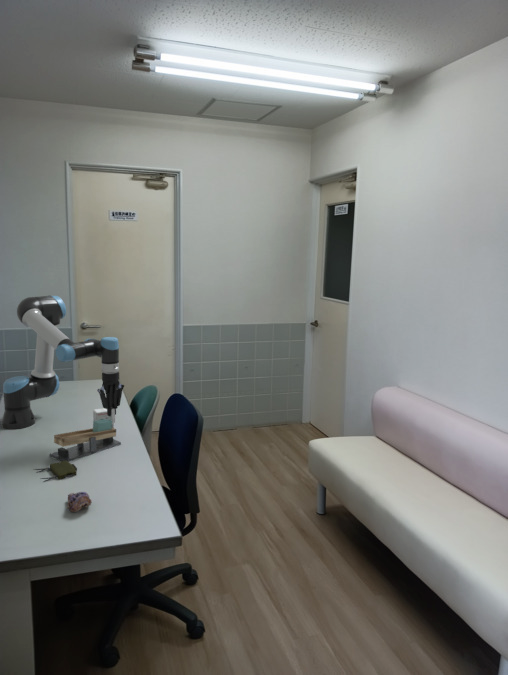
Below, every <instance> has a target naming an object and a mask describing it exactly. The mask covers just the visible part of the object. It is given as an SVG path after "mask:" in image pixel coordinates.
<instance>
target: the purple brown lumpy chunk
mask: <svg viewBox="0 0 508 675" xmlns="http://www.w3.org/2000/svg"><path fill="white" fill-rule="evenodd" d="M92 503H93V502H92V499H90V495H89V493H87V492H86V491H79V492H75V493H74V492H71V493H68V494H67V506H66V507H67V509H68V510H69V511H70V512H75V513H77V512H79V511H80V510H81V509H82V508H85V507H87V508H88V507H89V506H92Z"/></svg>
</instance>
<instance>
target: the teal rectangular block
mask: <svg viewBox="0 0 508 675" xmlns="http://www.w3.org/2000/svg"><path fill="white" fill-rule="evenodd" d="M92 423H93V424H92V428H93V432H94V433H95V432H101V431H106V430H112V421H111V420H108V419H103V420H97V421H94V420H93V421H92Z"/></svg>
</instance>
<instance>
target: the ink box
mask: <svg viewBox="0 0 508 675" xmlns="http://www.w3.org/2000/svg"><path fill="white" fill-rule="evenodd" d="M92 412H93V413H92V414H93V416H92V417H93V421H97V420H103V419H108V420H109V416H108V415H107V409H105V408H103V407H102V408H95V409H93V410H92ZM112 428H114V429H115V423H112Z"/></svg>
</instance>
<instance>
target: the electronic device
mask: <svg viewBox="0 0 508 675" xmlns="http://www.w3.org/2000/svg"><path fill="white" fill-rule="evenodd" d="M46 470H50V472H51V473H52V474H53V477H52V476H51V477H42V478H41V477H40V478H39V479H40V480H43V481H42V482H43V483H44V482H48V481H51V480H53V479H57V480H64V479H67V478H70V477H75V476H77V471H78V467H76V465H75V464H74V463H71V462H68V461H62V462H60V461H59V462H53V463H50V464H49V467H46V468H45V467H44V468H35V469H34V468H33V469H32V471H37V472H35V473H41V472H44V471H46Z"/></svg>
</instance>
